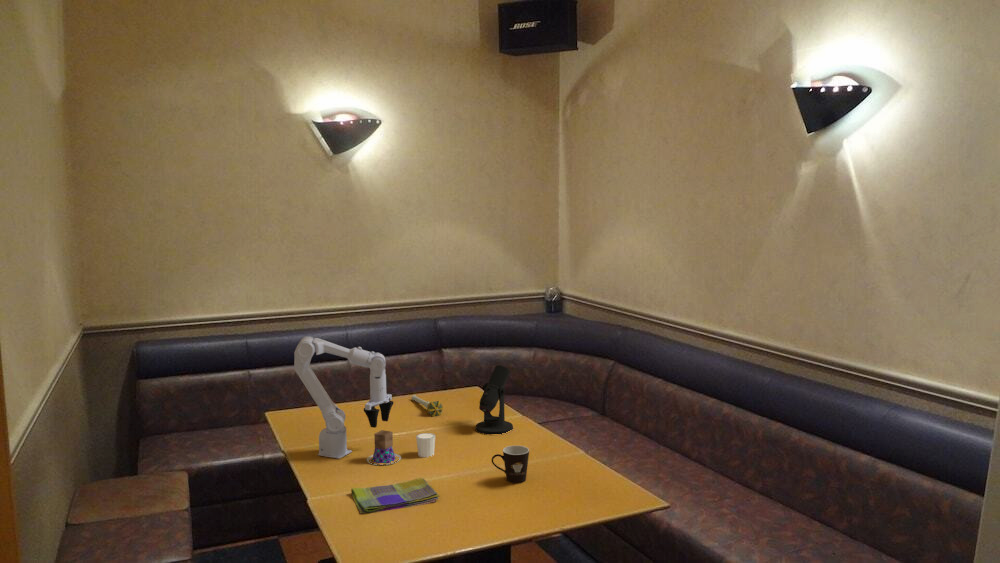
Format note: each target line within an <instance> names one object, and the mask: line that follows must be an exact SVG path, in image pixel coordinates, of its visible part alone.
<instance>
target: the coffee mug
mask: <svg viewBox="0 0 1000 563" xmlns="http://www.w3.org/2000/svg"><path fill="white" fill-rule="evenodd" d="M502 452H503V453H502V454H499V453H498V454H494V455H493V456H492V457H491V463H492V465H493V466H494V467H495V468H497V469H498V470H500V471H501V472H504V473H505V478H506V481H507V482H508V483H510V484H522V483H525V482H526V480H527V472H528V467H529V466H528V465H529V458H530V457H529V456H530V448H528V447H527V446H524V445H508V446H506V447H504V448H503V449H502ZM496 457H500V458H501V459H502V460H503V462H504V464H503V465H504V469H503V468H502V467H500V466H498V465H497V464H496V463H495V462H494V459H495V458H496Z"/></svg>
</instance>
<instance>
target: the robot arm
mask: <svg viewBox="0 0 1000 563" xmlns="http://www.w3.org/2000/svg"><path fill="white" fill-rule="evenodd" d="M324 353H327V354H330V355H333V356H338V357H341V358H346V359H347V360H348V362H349V363H350V364H353V365H355V366H360V367H363V368H366V369H367V368H369V370H370V374H369V389H370V390H369V394H370V396H369V397H370V398H369V400H368V402H366V403H365V404H364V408H363V412H364V413H365V415H366V417H367V420H368V423H369V427H370V428H375V429H376V428H378V427H377V426H378V416H379V414H380V418H381V421H382V422H388V421H389V417H390V413H391V410H392V407H393V406H394V401H393V399H392V398H393V397H392V394H391V393H387V374H386V366H387V365H386V364H387V363H386V357H385V355H384V354H382V353H381V352H375V351H373V350H372V351H368V350H365V349H363V348H362V347H361V346H358V347H353V348H347V347H344V346H341V345H338V344H336V343H333V342H330V341H327V340H326V339H325V340H324V339H322V338H319V337H313V336H309V335H306V336H304V337H302V338H301V340H299V343H298V344H297V346H296V347H295V350H294V353H293V354H294V355H293V356H294V360H293V361H294V366H293V368H294V371H295V373H296V374H297V376H298V377H299V379H300V381H301V382H302V383H303V385H304V386H305V388H306V390H307V391H308V393H309V394H310V396H311V398H312V399H313V401H314V402H315V404H316V406H317V407H318V409H319V410H320V412H321V416H322V418H323V420H324V422H325V428H322V429H321V431H320V432H319V433H318V434H319V435H318V451H319V452H318V453H317V456H322V457H327V458H333V459H339V460H340V459H342V458H343V457H346V456H347V455H348V454H350V453H352V452H353V450H351V449H348V444H347V443H348V442H347V441H348V440H347V438H348V437H347V436H348V435H347V427H346V425H345V421H346V413H345V411H344V410H343V409H342V408H339V407H338V405H337V404H336V403H335V402H333V400H332V398H331V397H330V396H329V394H328V393H327V391H326V390H325V387H324V386H323V385H322V383H321V382H320V380H319V379H318V377H317V375H316V374H315V372H314V371H313V370H312V367H311V366H310V365H311V360H312V358H313V356H314V355H315V354H316V356H318V355H322V354H324ZM377 406H379V408H376V407H377ZM379 412H380V413H379Z"/></svg>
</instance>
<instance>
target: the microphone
mask: <svg viewBox="0 0 1000 563" xmlns="http://www.w3.org/2000/svg"><path fill="white" fill-rule="evenodd" d="M510 374H511V371H510V369H509V368H508V367H506V366H504V365H501V364H498V365H496V366H495V367H494V369H493V370H492V373H491V375H490V377H489V379H488V382H486V383H484V384H483V386H482V390H483V393H482V394H481V397H480V400H479V408H478V409H479V410H480V411H481V412H483V420H482V421H480V422H478V423H476V424H475V431H476V430H477V431H478V433H479V432H480V433H479V434H482V433H484V434H483V435H487V434H501V435H503V434H502V433H506V432H508V431H510V430H512V429H513V430H514V424H513V423H511V422H509V421H507V420H505V393H506V388H505V386H506V383H507V381H508V379H509V377H510ZM498 402H499V404H498ZM497 404H498V405H499V410H498V416H497V415H493V414H492V413H491V412H492V411H494V409H495V407H497ZM513 430H512V431H513ZM477 431H476V432H477ZM506 434H507V433H506Z"/></svg>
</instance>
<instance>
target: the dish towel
mask: <svg viewBox="0 0 1000 563" xmlns="http://www.w3.org/2000/svg"><path fill="white" fill-rule="evenodd" d="M350 491H351V495H352V498H353V501H354V504H355V505H356V507H357V509H358V511H359V513H360V515H362V514H363V515H364V514H372V513H380V512H385V511H392V510H393V511H394V510H398V509H406V508H410V507H417V506H424V505H428V504H433V503H436V500H439V498H440V495H439V492H437V491H436V490H435V489H434V488H433V487H432V486H431V485H430V484H429V483H428V482H427V481H426V479H425V478H422V477H419V478H414V479H412V480H407V481H403V482H398V483H395V484H394V483H393V484H387V485H379V486H378V485H377V486H376V485H375V486H372V487H369V486H368V487H362V488H361V487H359V488H358V487H357V488H354V487H353V488H351V490H350Z"/></svg>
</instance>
